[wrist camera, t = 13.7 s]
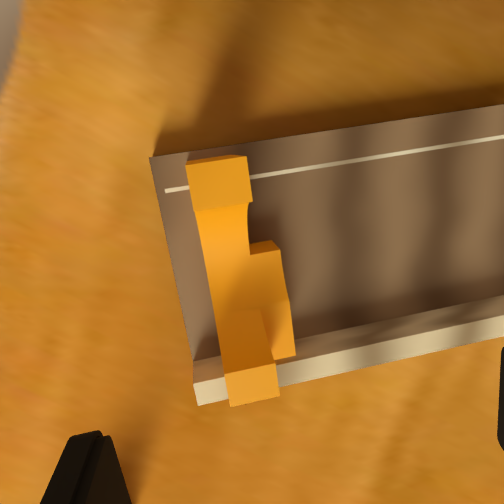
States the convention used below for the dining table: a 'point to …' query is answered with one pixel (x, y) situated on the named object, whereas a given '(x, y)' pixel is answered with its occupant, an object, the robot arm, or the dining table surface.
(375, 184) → the board
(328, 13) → the dining table surface
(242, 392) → the pipe clamp
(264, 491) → the dining table surface
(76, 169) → the dining table surface
